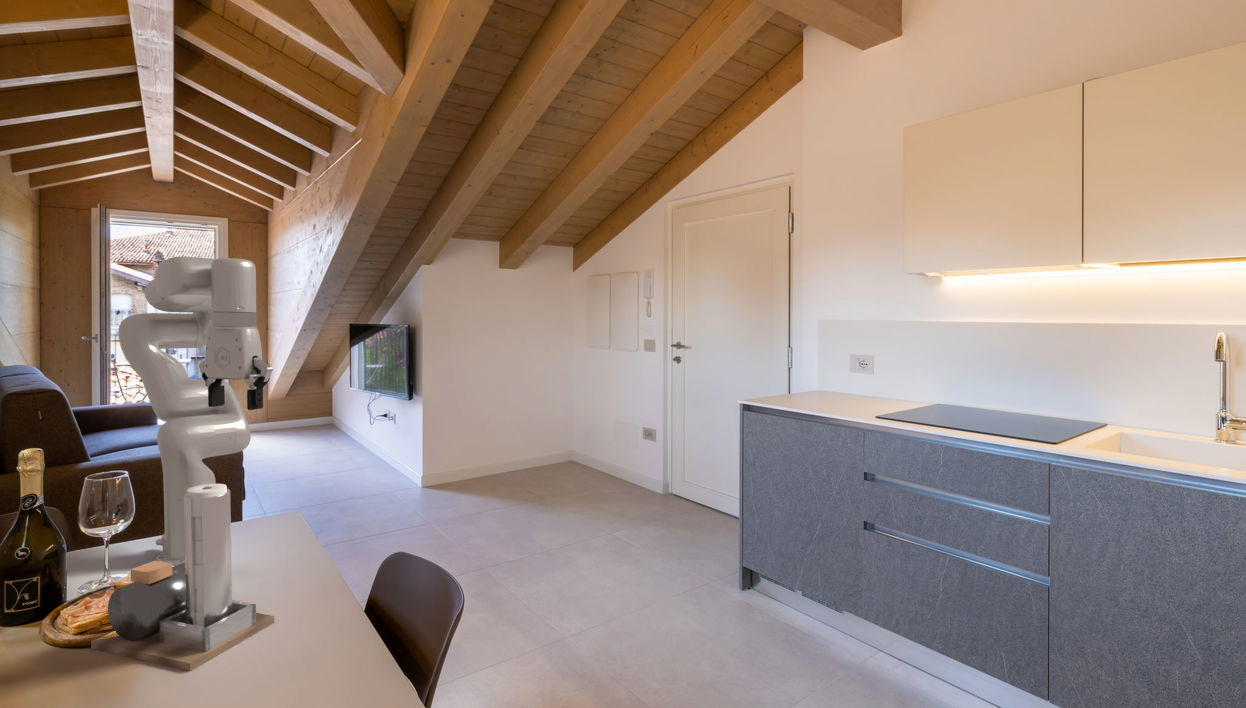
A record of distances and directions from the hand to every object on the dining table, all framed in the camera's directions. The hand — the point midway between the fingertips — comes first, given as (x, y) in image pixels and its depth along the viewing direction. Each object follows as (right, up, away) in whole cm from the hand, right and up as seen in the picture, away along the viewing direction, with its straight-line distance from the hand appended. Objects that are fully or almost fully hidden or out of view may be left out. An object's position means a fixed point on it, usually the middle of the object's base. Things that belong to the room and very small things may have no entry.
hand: (235, 407), depth 124 cm
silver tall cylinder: (+7, -37, -19) cm, 42 cm away
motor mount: (+2, -38, -17) cm, 41 cm away
